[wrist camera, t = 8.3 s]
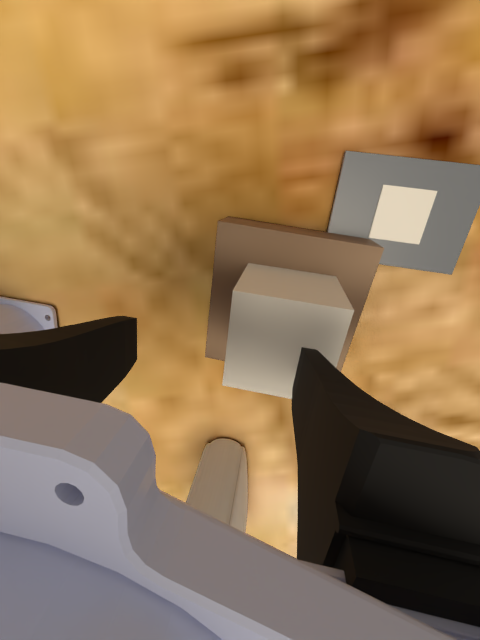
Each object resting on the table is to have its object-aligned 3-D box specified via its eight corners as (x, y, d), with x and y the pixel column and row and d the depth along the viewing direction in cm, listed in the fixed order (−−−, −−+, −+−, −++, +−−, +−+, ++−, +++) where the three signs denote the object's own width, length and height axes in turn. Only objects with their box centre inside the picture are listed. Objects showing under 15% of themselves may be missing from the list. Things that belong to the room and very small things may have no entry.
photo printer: (250, 518, 29) (226, 719, 17) (208, 512, 29) (160, 702, 18) (250, 438, 25) (220, 624, 14) (203, 433, 26) (138, 608, 14)
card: (447, 273, 18) (452, 274, 18) (321, 254, 19) (322, 256, 18) (488, 168, 16) (496, 166, 15) (344, 152, 17) (346, 150, 16)
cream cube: (315, 351, 18) (324, 405, 14) (238, 338, 19) (222, 385, 14) (336, 276, 16) (354, 310, 11) (248, 263, 16) (232, 290, 12)
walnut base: (330, 359, 21) (336, 384, 19) (215, 336, 22) (204, 357, 20) (369, 239, 18) (384, 248, 15) (228, 216, 18) (217, 221, 16)
